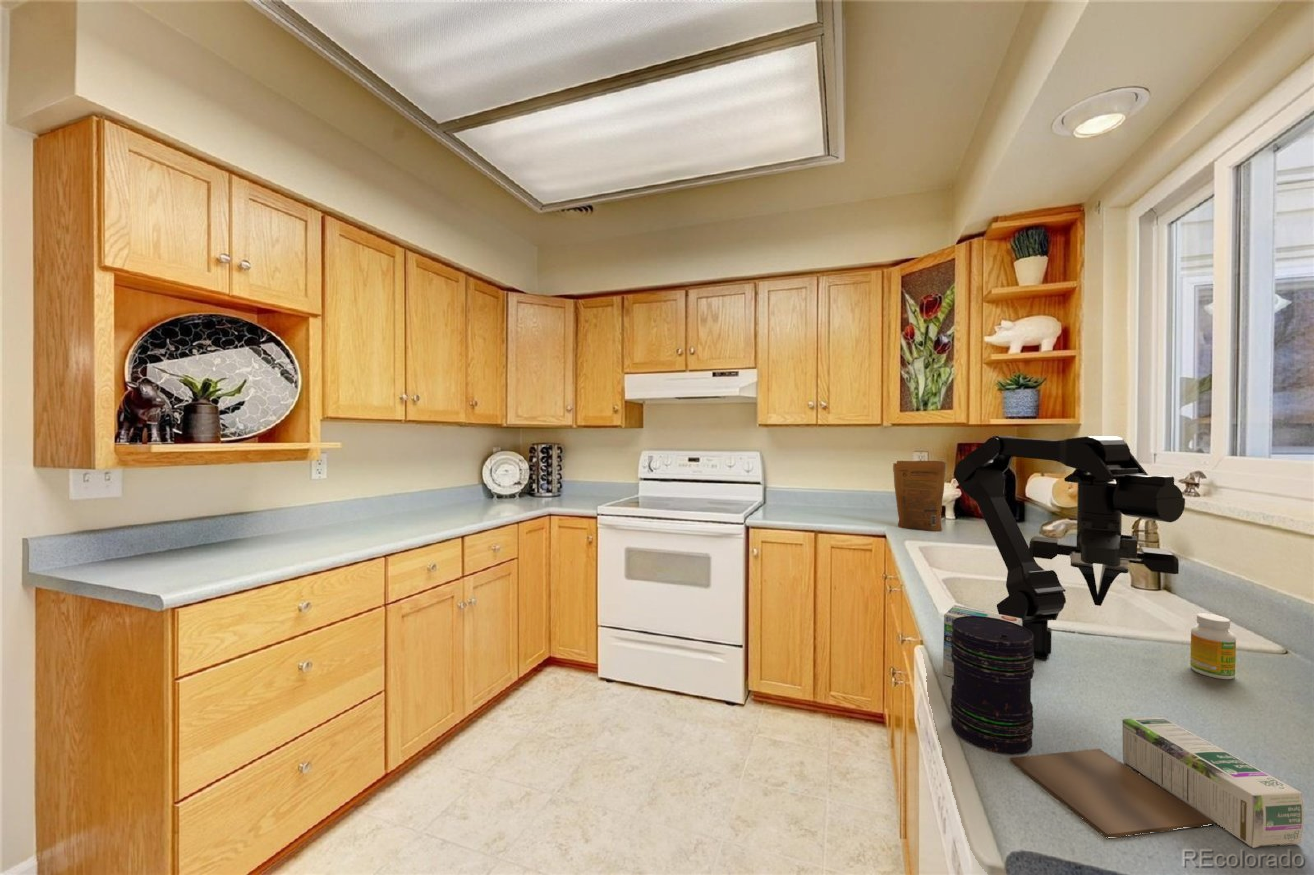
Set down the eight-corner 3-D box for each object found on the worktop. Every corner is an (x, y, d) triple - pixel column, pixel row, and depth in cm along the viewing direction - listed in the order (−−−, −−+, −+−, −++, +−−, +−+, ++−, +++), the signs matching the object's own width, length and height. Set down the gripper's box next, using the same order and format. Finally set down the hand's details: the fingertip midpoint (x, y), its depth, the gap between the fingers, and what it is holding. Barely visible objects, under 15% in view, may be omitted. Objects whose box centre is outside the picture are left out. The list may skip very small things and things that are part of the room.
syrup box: (1162, 715, 69) (1305, 790, 55) (1162, 760, 69) (1306, 847, 55) (1120, 717, 69) (1254, 793, 54) (1121, 763, 69) (1254, 851, 54)
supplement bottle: (1225, 682, 89) (1227, 625, 89) (1183, 669, 94) (1184, 614, 94) (1241, 676, 91) (1242, 620, 91) (1199, 663, 96) (1200, 609, 96)
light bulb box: (941, 675, 93) (942, 613, 92) (952, 662, 98) (952, 603, 97) (1015, 696, 85) (1015, 629, 85) (1022, 681, 90) (1023, 617, 90)
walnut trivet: (1107, 839, 56) (1107, 834, 56) (1010, 761, 69) (1010, 757, 69) (1213, 825, 58) (1213, 821, 58) (1099, 752, 71) (1099, 748, 71)
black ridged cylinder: (937, 714, 80) (938, 615, 80) (1004, 714, 80) (1005, 615, 80) (974, 755, 70) (975, 642, 70) (1051, 756, 70) (1052, 643, 70)
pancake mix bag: (944, 533, 208) (945, 461, 208) (892, 528, 219) (892, 459, 219) (947, 530, 214) (947, 460, 213) (895, 525, 225) (895, 458, 224)
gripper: (1027, 513, 88) (1026, 607, 89) (1185, 525, 77) (1183, 633, 77) (1031, 504, 97) (1030, 590, 97) (1173, 514, 86) (1172, 611, 86)
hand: (1097, 605), depth 89 cm, fingers closed
